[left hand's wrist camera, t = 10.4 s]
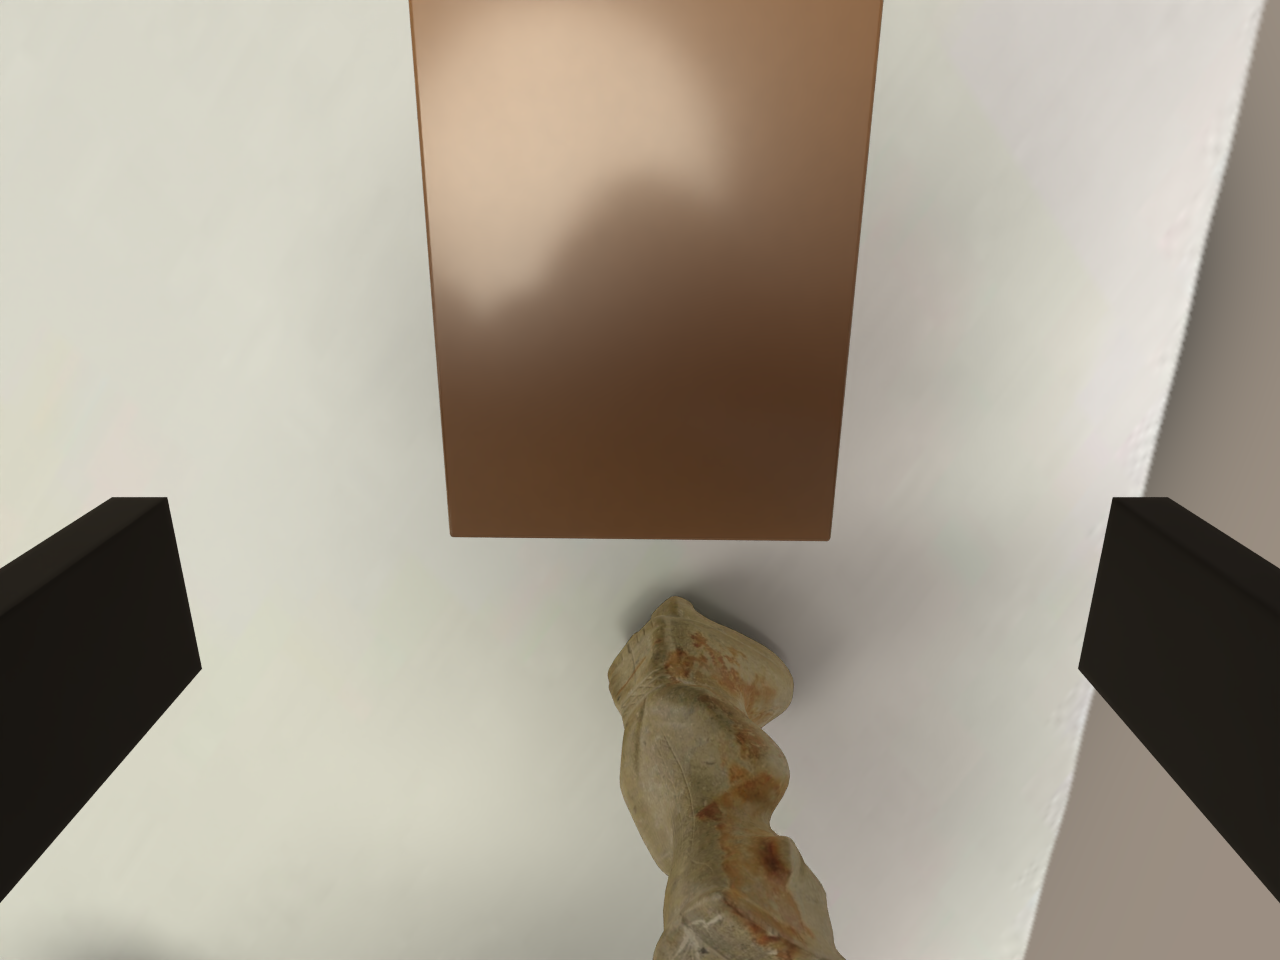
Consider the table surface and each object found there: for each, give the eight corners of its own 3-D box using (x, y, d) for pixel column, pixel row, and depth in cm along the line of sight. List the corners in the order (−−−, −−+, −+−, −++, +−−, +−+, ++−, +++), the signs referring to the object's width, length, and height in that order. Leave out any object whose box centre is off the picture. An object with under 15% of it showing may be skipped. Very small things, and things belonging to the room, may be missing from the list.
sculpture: (716, 742, 38) (753, 1094, 24) (588, 648, 36) (548, 968, 22) (810, 655, 36) (910, 980, 22) (681, 553, 34) (701, 834, 21)
